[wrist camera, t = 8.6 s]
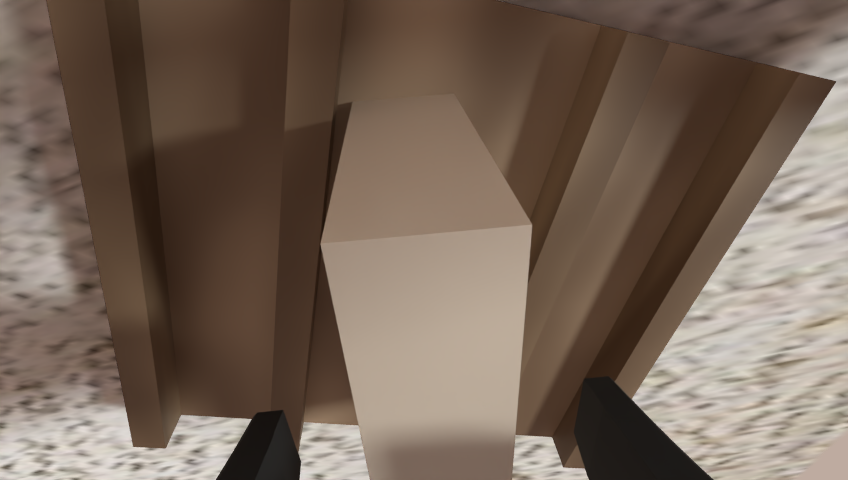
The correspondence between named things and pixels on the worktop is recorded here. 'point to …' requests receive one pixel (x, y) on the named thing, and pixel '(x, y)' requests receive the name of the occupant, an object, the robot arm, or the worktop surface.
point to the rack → (318, 162)
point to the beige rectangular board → (428, 290)
